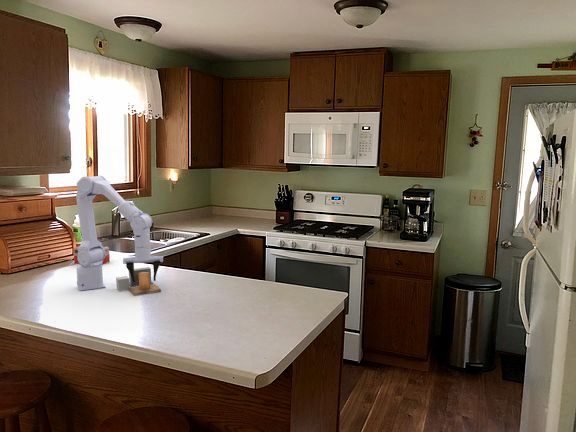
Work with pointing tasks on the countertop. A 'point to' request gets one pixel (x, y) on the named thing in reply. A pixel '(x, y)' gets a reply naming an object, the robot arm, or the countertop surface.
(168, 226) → the countertop surface
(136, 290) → the mat
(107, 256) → the medicine box
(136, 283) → the housing
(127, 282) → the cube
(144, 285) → the cylinder
